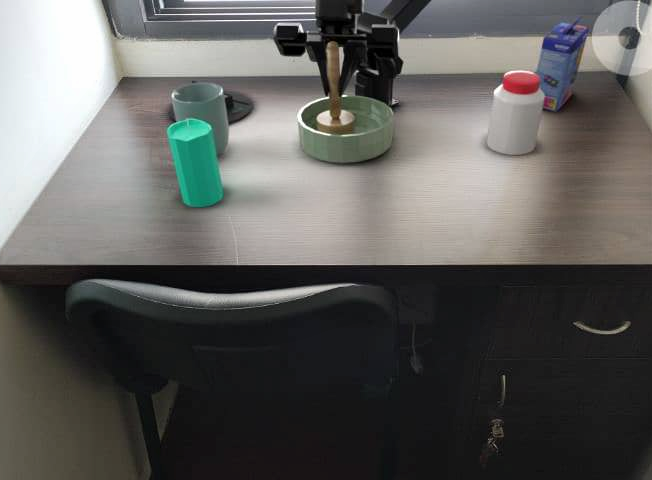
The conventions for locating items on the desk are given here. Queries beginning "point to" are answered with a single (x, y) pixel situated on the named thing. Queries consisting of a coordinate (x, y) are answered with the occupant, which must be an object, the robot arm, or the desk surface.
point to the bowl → (362, 145)
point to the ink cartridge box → (560, 62)
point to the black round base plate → (231, 106)
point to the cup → (204, 109)
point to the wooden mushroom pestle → (335, 100)
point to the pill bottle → (516, 113)
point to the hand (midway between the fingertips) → (333, 95)
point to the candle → (195, 162)
